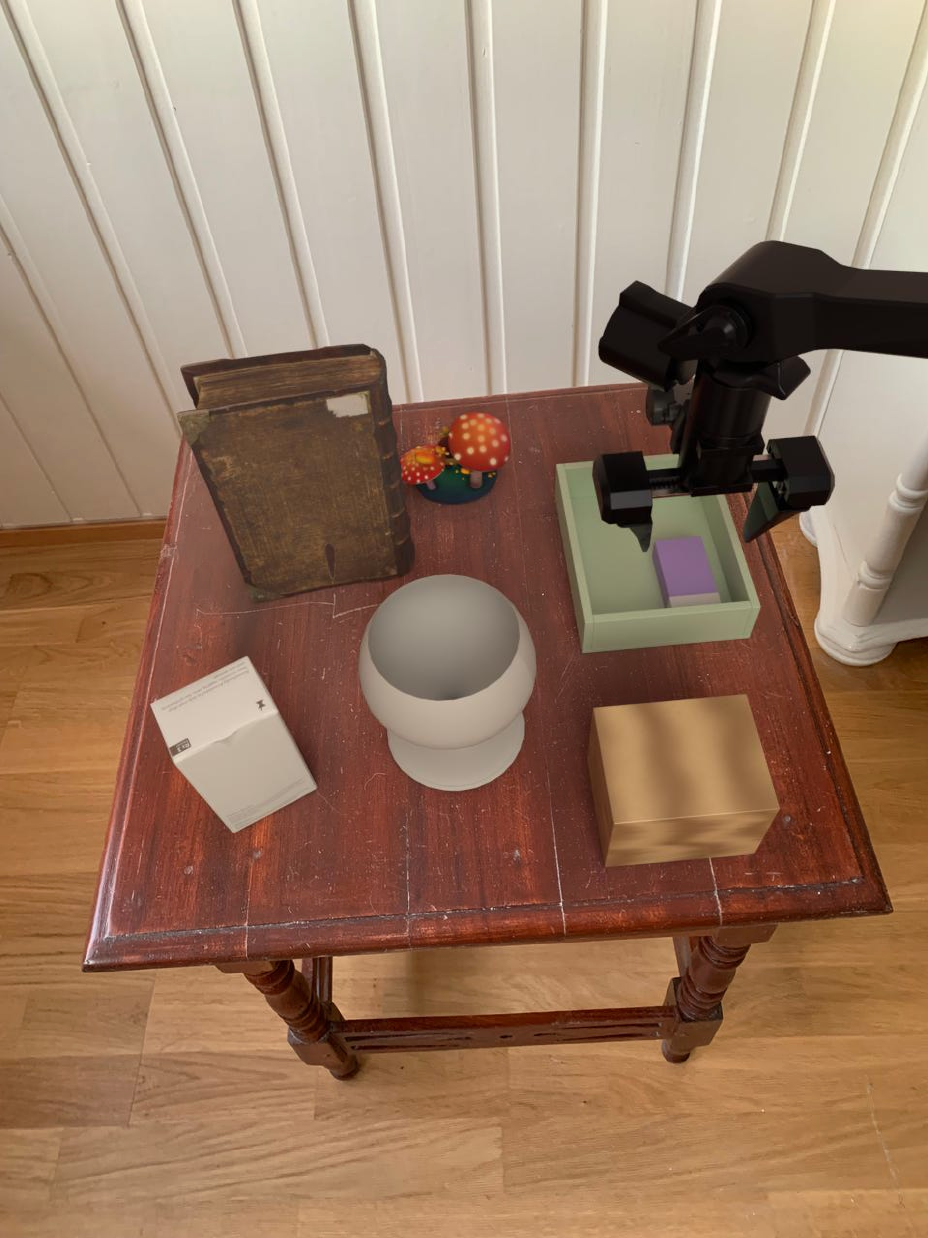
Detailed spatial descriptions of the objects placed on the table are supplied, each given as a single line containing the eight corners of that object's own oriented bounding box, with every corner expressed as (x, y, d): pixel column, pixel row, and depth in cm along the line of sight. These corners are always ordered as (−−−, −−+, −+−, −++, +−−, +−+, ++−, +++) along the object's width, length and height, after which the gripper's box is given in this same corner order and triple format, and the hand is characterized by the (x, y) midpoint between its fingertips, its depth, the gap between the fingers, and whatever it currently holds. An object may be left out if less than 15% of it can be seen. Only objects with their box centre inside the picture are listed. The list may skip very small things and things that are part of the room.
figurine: (506, 439, 100) (505, 379, 93) (514, 501, 95) (513, 442, 88) (399, 448, 100) (389, 388, 93) (400, 511, 95) (391, 452, 88)
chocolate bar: (697, 552, 89) (701, 535, 87) (719, 626, 84) (724, 610, 82) (651, 556, 89) (654, 539, 87) (670, 630, 84) (673, 615, 82)
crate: (725, 746, 77) (746, 693, 70) (754, 854, 72) (780, 809, 65) (586, 759, 77) (592, 707, 70) (604, 867, 72) (613, 824, 65)
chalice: (556, 688, 82) (562, 589, 69) (502, 826, 74) (497, 742, 62) (415, 644, 85) (397, 542, 73) (350, 771, 78) (318, 682, 66)
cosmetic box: (293, 739, 80) (251, 647, 68) (320, 793, 77) (282, 707, 65) (204, 783, 78) (145, 698, 66) (229, 841, 75) (172, 762, 63)
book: (416, 538, 93) (384, 337, 72) (418, 593, 89) (385, 396, 68) (254, 551, 93) (178, 354, 73) (249, 607, 89) (166, 415, 68)
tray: (702, 484, 95) (710, 449, 91) (749, 638, 84) (761, 606, 79) (554, 497, 95) (555, 463, 91) (582, 653, 84) (585, 622, 80)
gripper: (818, 333, 73) (773, 469, 86) (587, 353, 73) (578, 487, 86) (863, 428, 66) (808, 561, 79) (610, 451, 66) (596, 580, 79)
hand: (694, 543), depth 81 cm, fingers open, 9 cm apart
